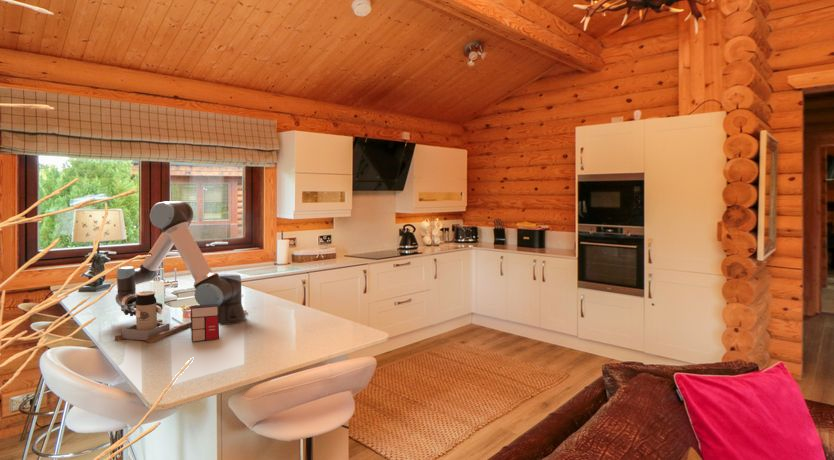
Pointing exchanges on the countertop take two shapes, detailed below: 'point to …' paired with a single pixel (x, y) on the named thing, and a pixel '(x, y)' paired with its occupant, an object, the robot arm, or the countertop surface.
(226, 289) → the robot arm
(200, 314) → the cream and red box
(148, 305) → the travel mug
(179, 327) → the switch track
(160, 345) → the countertop surface
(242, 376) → the countertop surface
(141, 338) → the square tray
